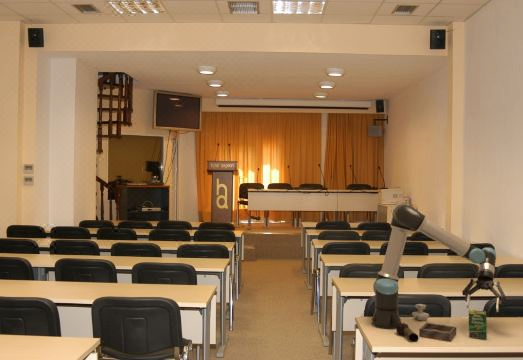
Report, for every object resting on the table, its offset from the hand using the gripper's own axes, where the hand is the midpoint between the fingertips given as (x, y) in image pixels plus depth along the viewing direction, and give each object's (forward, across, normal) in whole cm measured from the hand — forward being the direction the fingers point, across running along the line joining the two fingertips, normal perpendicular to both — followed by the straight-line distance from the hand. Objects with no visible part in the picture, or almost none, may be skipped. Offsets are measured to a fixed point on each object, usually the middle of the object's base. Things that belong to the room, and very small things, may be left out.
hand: (482, 308), depth 247 cm
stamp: (+1, +33, -17) cm, 37 cm away
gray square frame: (+19, +18, +2) cm, 27 cm away
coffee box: (+15, +1, -4) cm, 15 cm away
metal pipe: (+27, +31, +9) cm, 42 cm away
